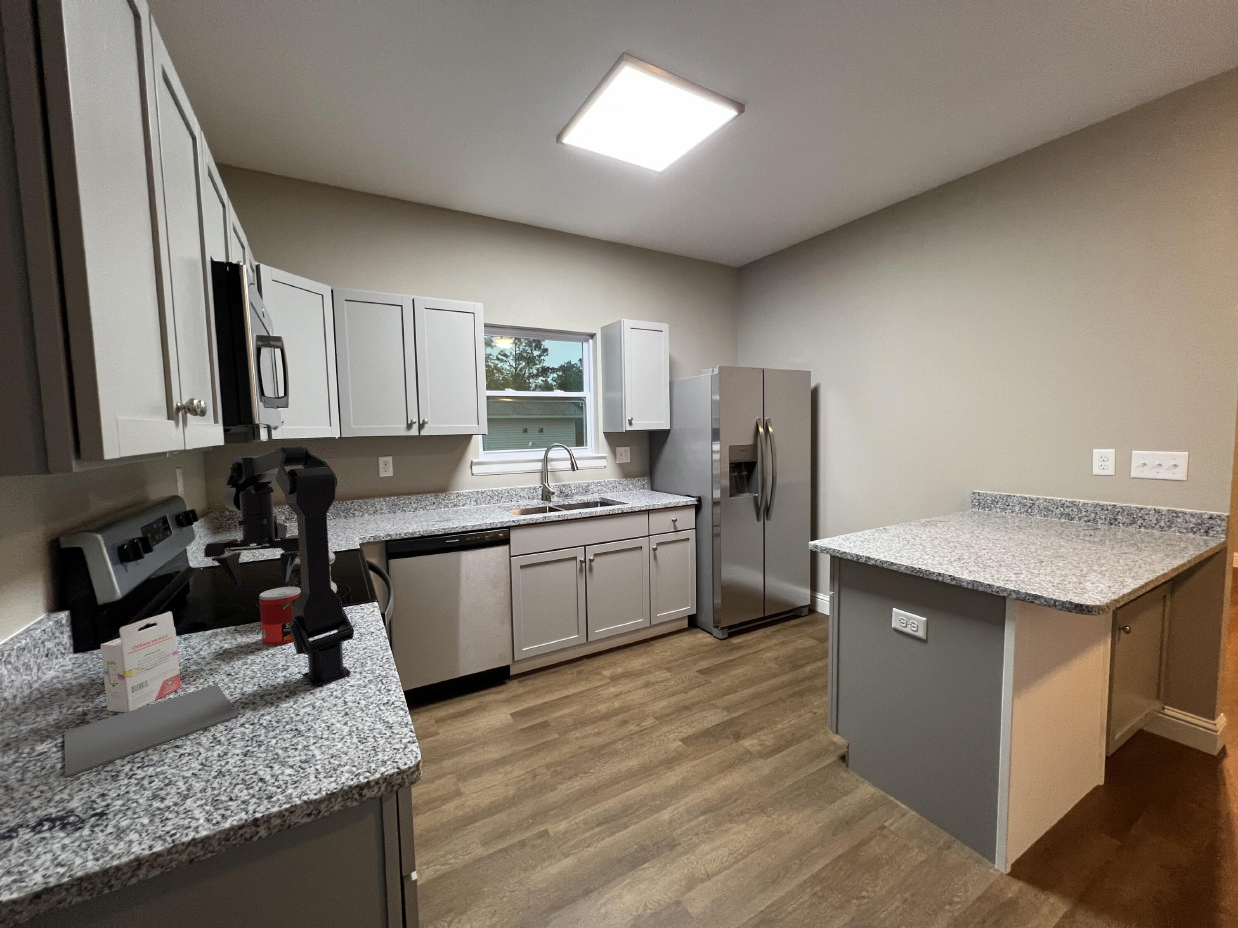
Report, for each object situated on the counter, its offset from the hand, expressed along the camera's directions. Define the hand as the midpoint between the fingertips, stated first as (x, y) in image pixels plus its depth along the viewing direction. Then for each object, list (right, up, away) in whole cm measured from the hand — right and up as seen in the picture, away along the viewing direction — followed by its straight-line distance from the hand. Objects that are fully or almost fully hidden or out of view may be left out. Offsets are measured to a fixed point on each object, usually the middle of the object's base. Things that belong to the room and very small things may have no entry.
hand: (262, 584), depth 110 cm
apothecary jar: (-2, -13, +21) cm, 25 cm away
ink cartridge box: (-5, -15, -21) cm, 27 cm away
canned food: (+2, -14, +4) cm, 14 cm away
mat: (+4, -15, -30) cm, 34 cm away
